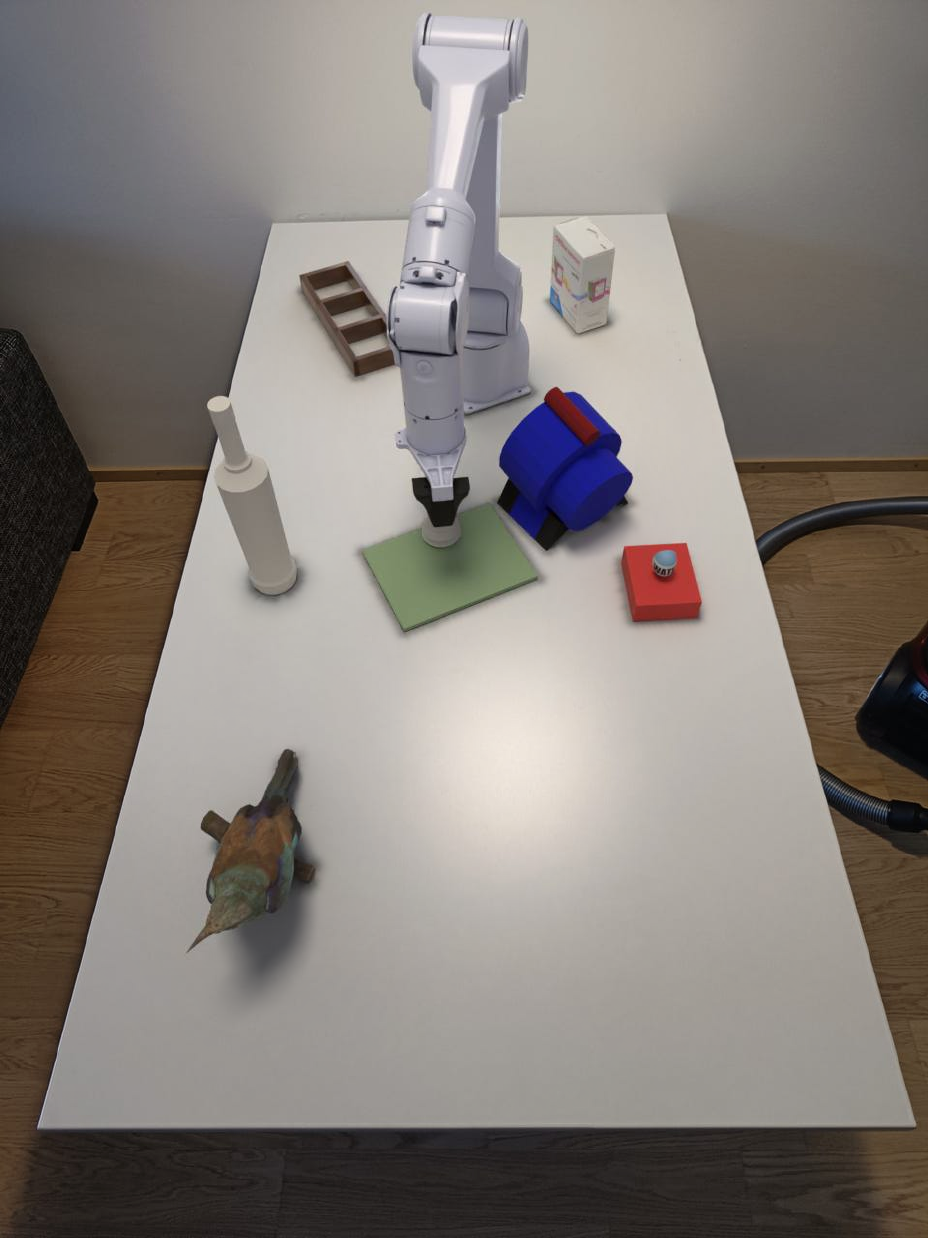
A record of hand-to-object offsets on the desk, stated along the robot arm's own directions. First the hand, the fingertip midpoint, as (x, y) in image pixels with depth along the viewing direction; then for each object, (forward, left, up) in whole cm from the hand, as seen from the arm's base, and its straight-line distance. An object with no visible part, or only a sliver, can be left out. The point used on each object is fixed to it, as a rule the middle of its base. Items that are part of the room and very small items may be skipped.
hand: (439, 497), depth 95 cm
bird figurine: (+30, +27, -7) cm, 41 cm away
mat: (+1, +4, -7) cm, 8 cm away
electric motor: (-15, +2, -7) cm, 17 cm away
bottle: (+19, -3, -7) cm, 20 cm away
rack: (-5, -41, -7) cm, 42 cm away
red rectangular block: (-18, +17, -7) cm, 26 cm away
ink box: (-34, -29, -7) cm, 45 cm away
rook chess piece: (0, 0, -6) cm, 6 cm away
